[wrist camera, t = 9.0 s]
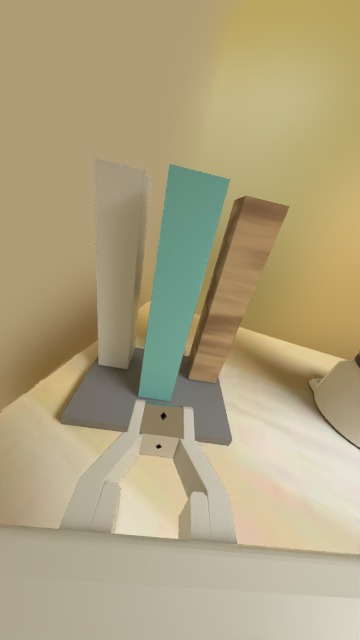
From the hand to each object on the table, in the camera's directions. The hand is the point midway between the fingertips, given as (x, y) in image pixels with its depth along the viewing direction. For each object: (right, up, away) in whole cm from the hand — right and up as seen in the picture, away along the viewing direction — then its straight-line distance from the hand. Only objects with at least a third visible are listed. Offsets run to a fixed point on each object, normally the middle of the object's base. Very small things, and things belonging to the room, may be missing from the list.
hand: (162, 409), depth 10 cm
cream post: (-11, -2, +24) cm, 27 cm away
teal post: (-3, -6, +20) cm, 22 cm away
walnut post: (+5, -5, +26) cm, 26 cm away
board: (-3, -7, +22) cm, 24 cm away
